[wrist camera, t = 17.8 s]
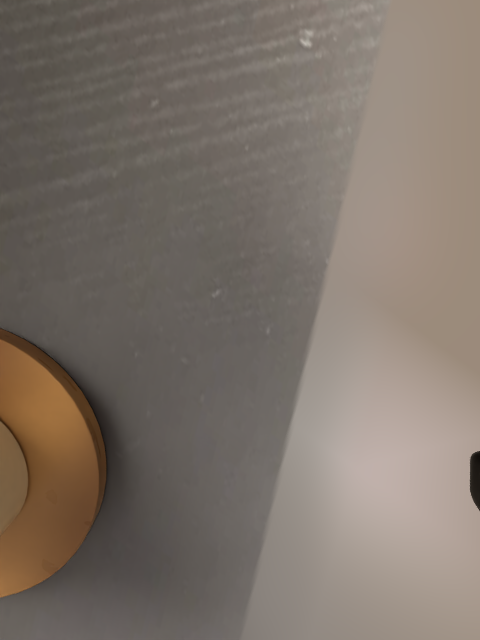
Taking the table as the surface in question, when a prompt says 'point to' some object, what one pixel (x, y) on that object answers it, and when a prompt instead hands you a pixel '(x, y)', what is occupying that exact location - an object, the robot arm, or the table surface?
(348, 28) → the table surface
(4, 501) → the lidded mug
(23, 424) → the disc
